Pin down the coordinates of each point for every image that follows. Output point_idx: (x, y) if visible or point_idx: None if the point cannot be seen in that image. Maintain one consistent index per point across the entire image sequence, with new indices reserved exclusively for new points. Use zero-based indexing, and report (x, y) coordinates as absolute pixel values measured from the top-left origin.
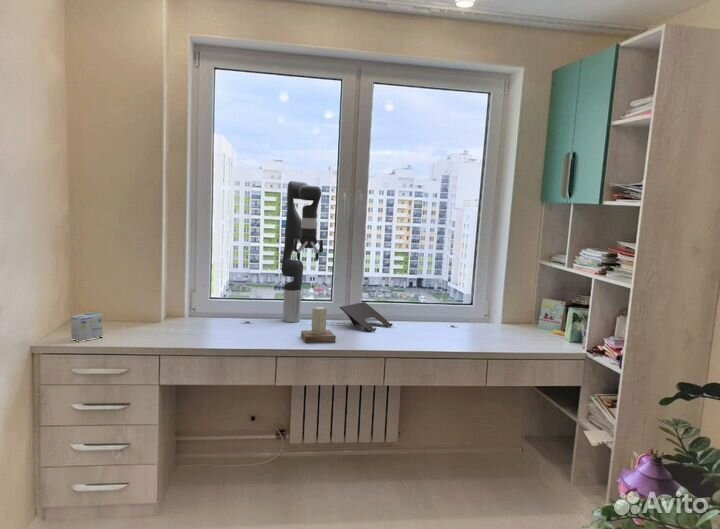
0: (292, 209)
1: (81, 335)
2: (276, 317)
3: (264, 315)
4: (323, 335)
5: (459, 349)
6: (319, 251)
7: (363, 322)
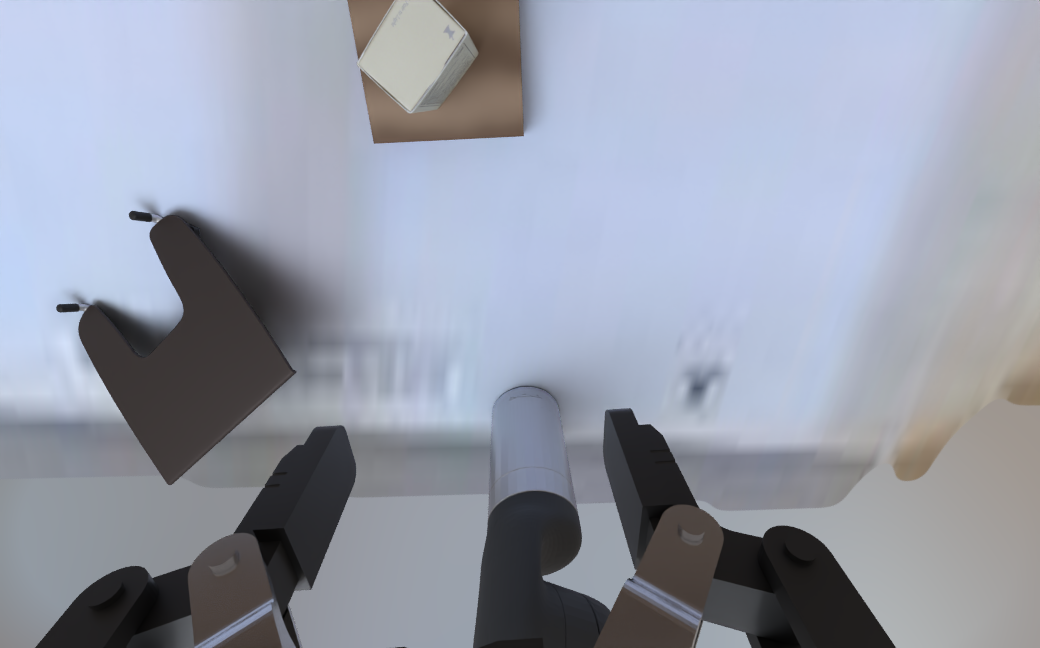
0: None
1: None
2: (574, 457)
3: None
4: None
5: None
6: (182, 592)
7: (192, 274)
